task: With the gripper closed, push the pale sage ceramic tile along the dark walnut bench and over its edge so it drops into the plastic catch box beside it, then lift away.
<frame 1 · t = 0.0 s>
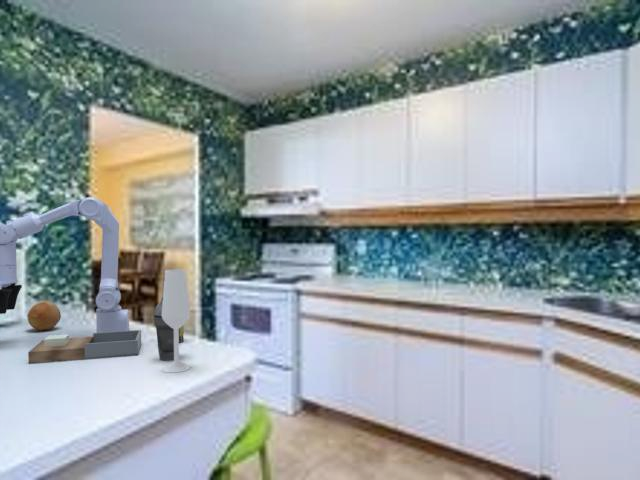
hand: (5, 311, 139), 10 cm above the counter, tool pointing down, fingers open, 7 cm apart
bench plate: (63, 354, 128), on the counter
sauce bottle: (172, 342, 142), on the counter
tile: (57, 344, 128), point 3 cm above the counter, touching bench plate
champagne flute: (176, 369, 115), on the counter
onion: (44, 330, 161), on the counter
catch box: (114, 350, 132), on the counter
beverage cup: (168, 359, 124), on the counter
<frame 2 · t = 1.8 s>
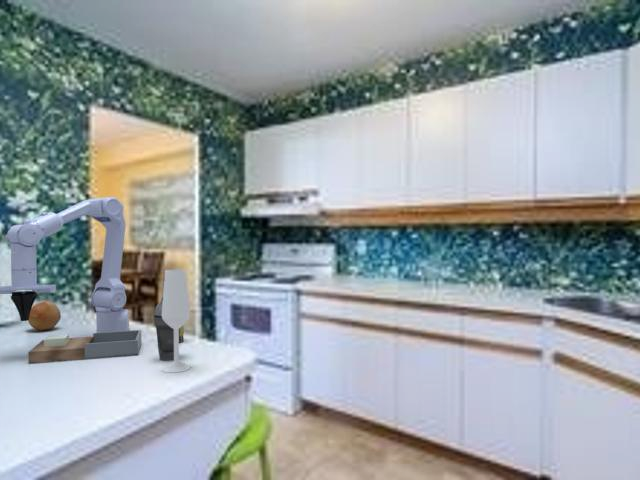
hand: (24, 320, 125), 10 cm above the counter, tool pointing down, fingers closed
nothing on the counter moved.
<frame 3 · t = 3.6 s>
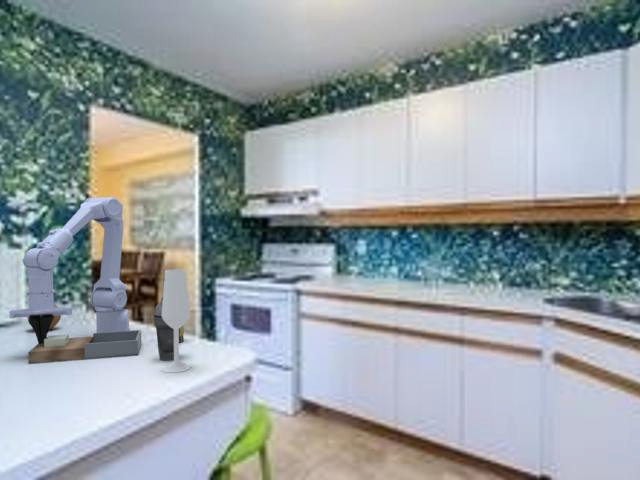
hand: (42, 343, 127), 4 cm above the counter, tool pointing down, fingers closed
tile: (57, 344, 128), point 3 cm above the counter, touching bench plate, gripper
everything else where it was.
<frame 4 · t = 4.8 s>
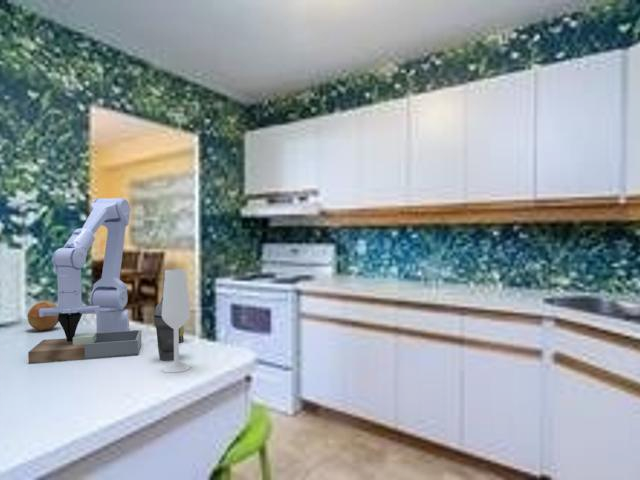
hand: (70, 341, 129), 4 cm above the counter, tool pointing down, fingers closed
tile: (84, 342, 130), point 3 cm above the counter, touching gripper
everything else where it was.
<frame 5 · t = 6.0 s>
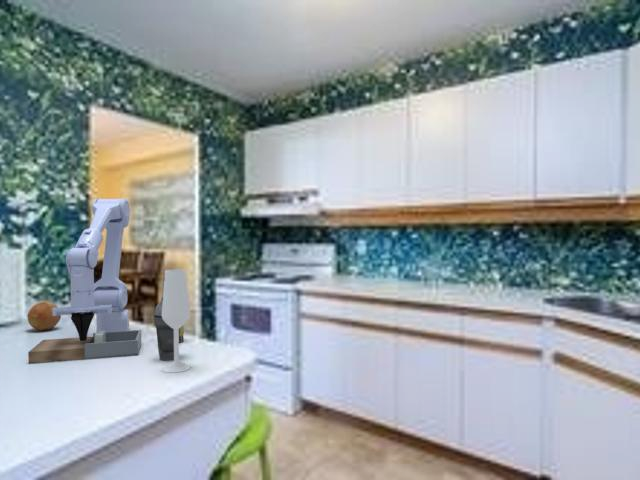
hand: (83, 340, 130), 4 cm above the counter, tool pointing down, fingers closed
tile: (96, 342, 130), point 3 cm above the counter, tilted 91°, touching catch box
everything else where it was.
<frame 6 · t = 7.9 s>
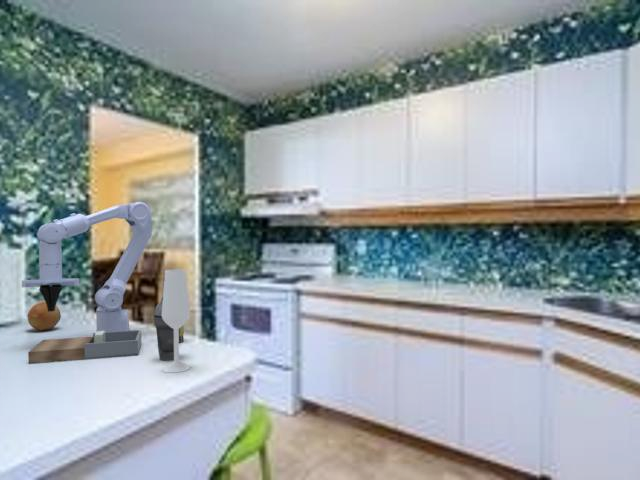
hand: (51, 310, 137), 10 cm above the counter, tool pointing down, fingers closed
nothing on the counter moved.
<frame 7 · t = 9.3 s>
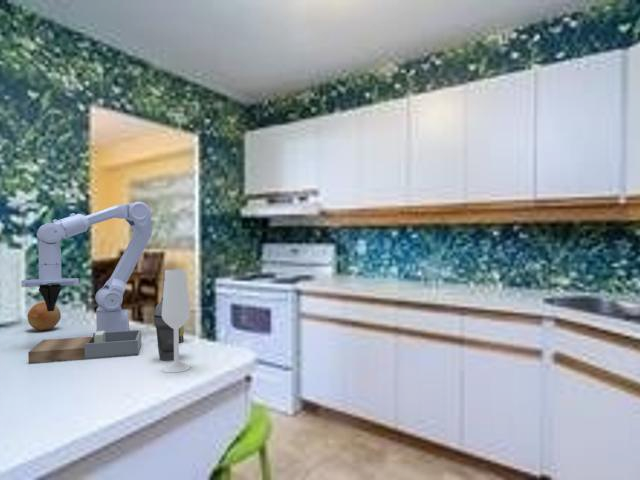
hand: (51, 310, 138), 10 cm above the counter, tool pointing down, fingers closed
nothing on the counter moved.
at the end: tile inside the target area (4.7 cm from its centre), point 2.9 cm above the counter; the gripper is holding nothing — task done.
